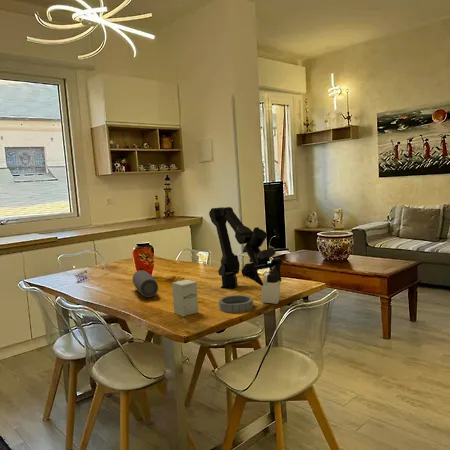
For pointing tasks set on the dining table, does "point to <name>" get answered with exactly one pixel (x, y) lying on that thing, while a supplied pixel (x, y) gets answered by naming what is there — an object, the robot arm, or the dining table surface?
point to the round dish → (236, 304)
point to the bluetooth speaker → (145, 283)
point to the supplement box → (185, 297)
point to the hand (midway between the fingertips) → (271, 283)
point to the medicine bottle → (270, 288)
